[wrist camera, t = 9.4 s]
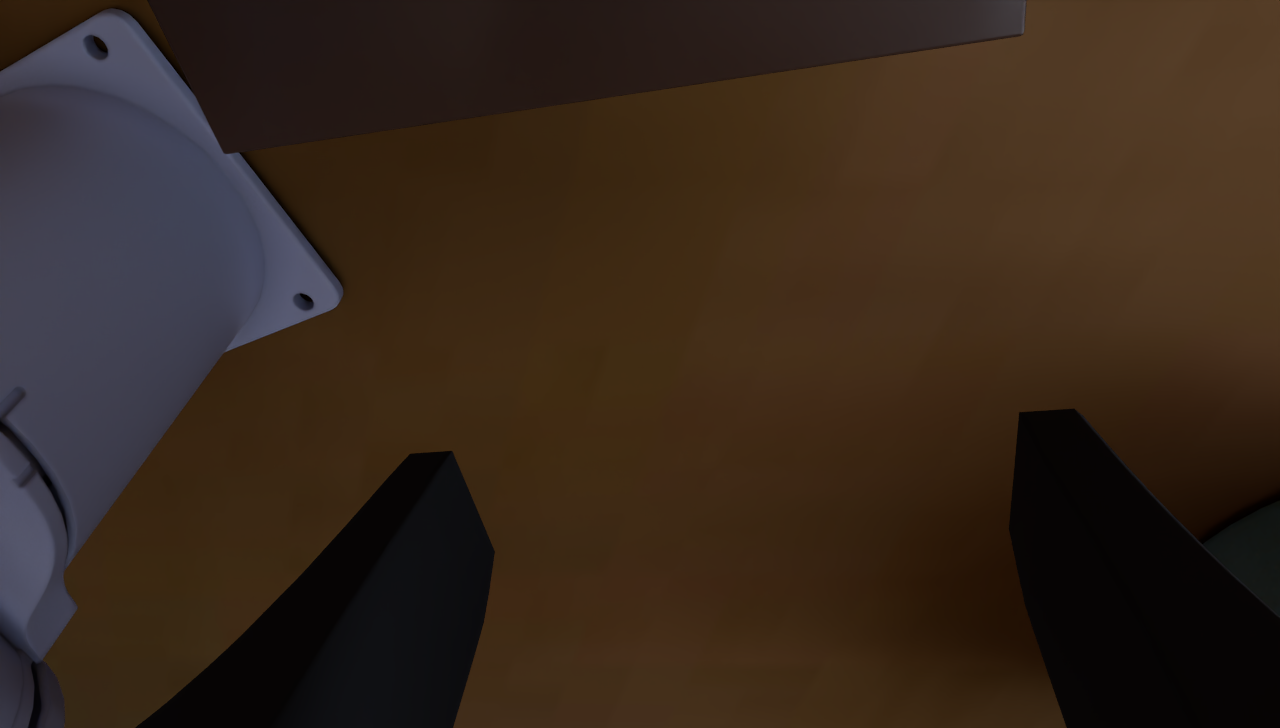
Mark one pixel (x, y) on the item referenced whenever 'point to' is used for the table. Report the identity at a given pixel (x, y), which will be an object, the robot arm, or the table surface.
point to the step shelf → (516, 53)
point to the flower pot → (1253, 552)
